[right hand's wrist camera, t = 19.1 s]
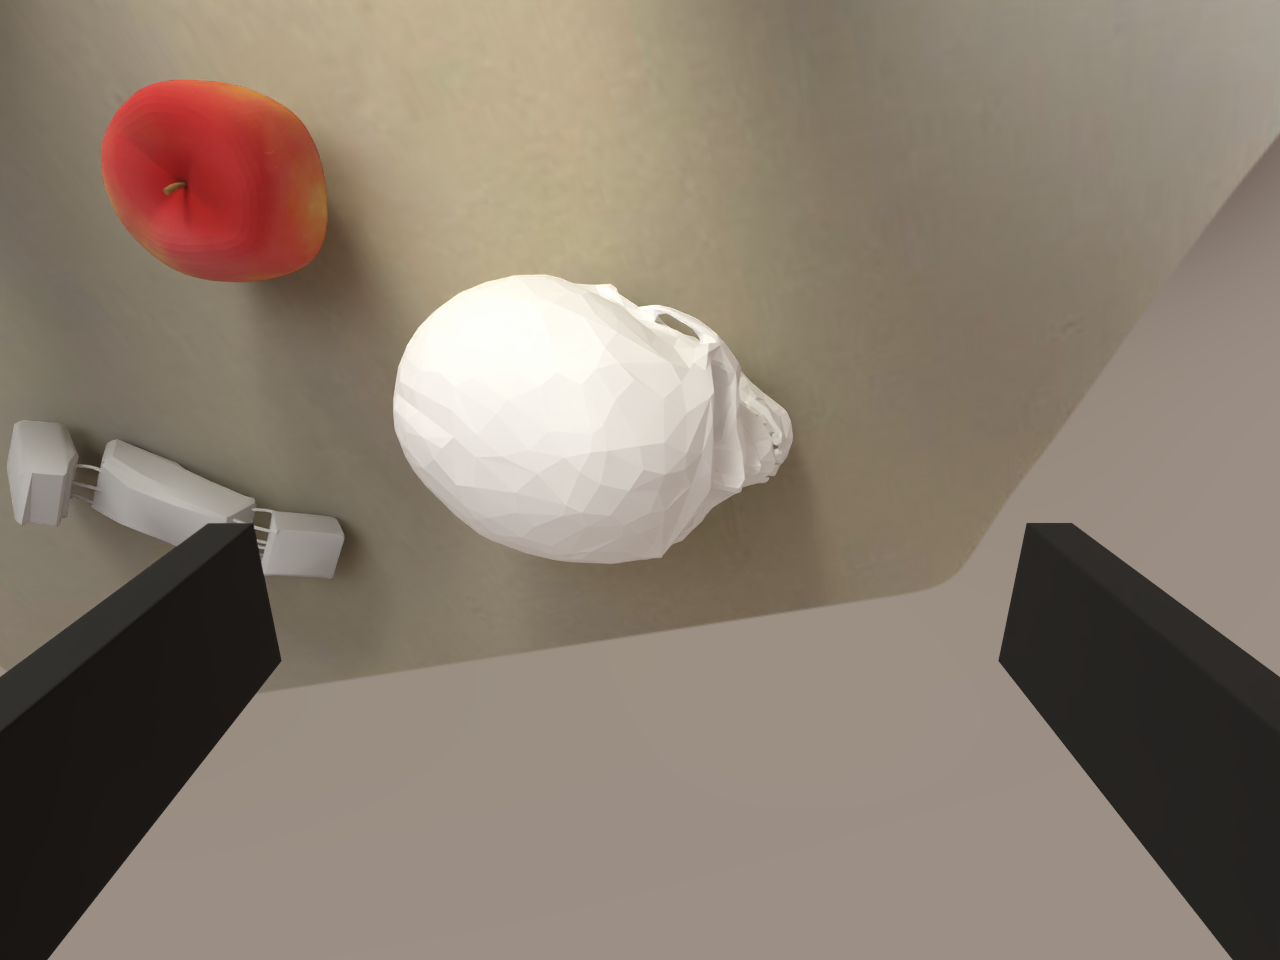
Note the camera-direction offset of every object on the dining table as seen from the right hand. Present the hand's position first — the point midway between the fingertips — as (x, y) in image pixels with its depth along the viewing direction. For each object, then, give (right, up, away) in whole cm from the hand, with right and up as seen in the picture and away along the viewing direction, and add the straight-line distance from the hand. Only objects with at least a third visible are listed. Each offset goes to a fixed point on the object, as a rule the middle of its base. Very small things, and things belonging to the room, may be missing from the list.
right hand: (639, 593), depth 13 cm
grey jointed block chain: (-29, +1, +35) cm, 45 cm away
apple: (-20, +18, +29) cm, 40 cm away
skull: (-1, +7, +33) cm, 34 cm away
